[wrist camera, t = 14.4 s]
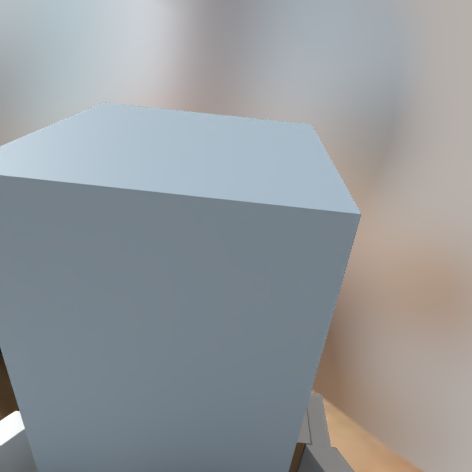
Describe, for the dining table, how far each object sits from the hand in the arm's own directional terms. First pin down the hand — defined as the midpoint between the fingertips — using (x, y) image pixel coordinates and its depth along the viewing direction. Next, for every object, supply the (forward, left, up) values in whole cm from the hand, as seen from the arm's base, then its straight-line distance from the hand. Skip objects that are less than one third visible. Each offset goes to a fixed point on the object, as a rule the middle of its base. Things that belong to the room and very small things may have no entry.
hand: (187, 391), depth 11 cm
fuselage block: (0, -1, -10) cm, 10 cm away
